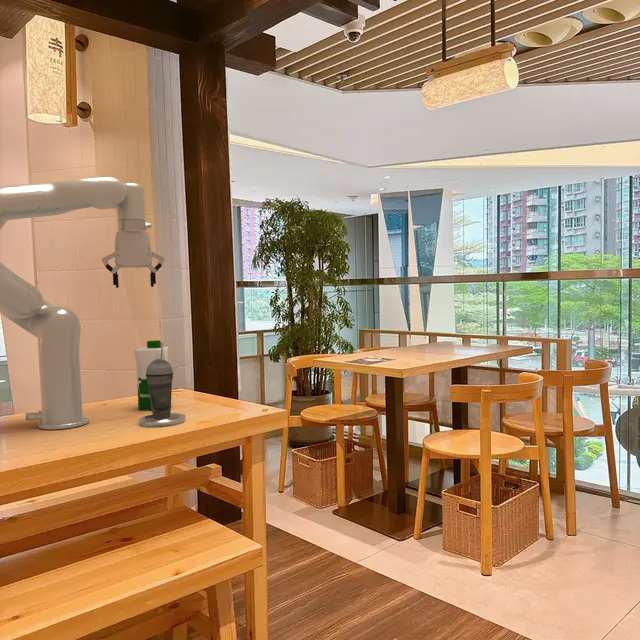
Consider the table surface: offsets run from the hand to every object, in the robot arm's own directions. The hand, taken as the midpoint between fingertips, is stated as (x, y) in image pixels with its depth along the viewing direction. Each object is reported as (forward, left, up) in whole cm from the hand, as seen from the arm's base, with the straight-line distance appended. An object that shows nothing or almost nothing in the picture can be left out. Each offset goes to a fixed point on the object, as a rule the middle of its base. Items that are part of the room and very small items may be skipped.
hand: (134, 287), depth 171 cm
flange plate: (+5, -17, -36) cm, 40 cm away
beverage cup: (+5, -16, -35) cm, 39 cm away
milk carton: (+4, +5, -36) cm, 37 cm away
